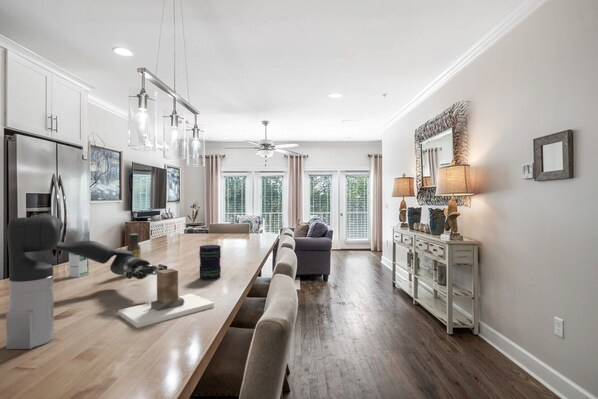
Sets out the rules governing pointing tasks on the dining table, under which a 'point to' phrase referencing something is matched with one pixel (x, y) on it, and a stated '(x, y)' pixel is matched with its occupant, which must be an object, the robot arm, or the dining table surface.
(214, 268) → the storage jar
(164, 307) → the block
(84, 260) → the syrup box
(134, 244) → the sauce bottle
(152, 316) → the board
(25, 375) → the dining table surface
